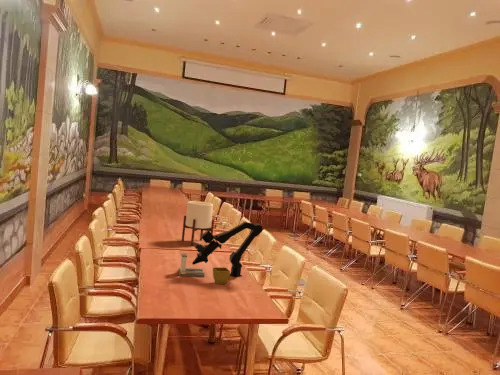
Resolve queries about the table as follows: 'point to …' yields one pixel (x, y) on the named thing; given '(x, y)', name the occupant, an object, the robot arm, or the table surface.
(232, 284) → the table surface
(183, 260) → the fader knob
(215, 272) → the flower pot
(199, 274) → the grey railed base plate
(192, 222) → the plant pot with stand
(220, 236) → the robot arm
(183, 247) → the table surface
